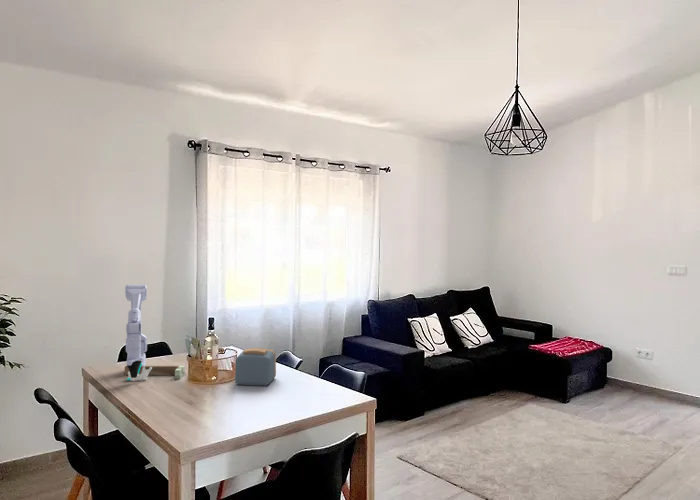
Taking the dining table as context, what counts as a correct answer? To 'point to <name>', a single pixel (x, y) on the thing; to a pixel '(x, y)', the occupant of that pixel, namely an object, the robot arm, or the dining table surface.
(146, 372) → the jawbone
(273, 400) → the dining table surface
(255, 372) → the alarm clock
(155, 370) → the cleat board
